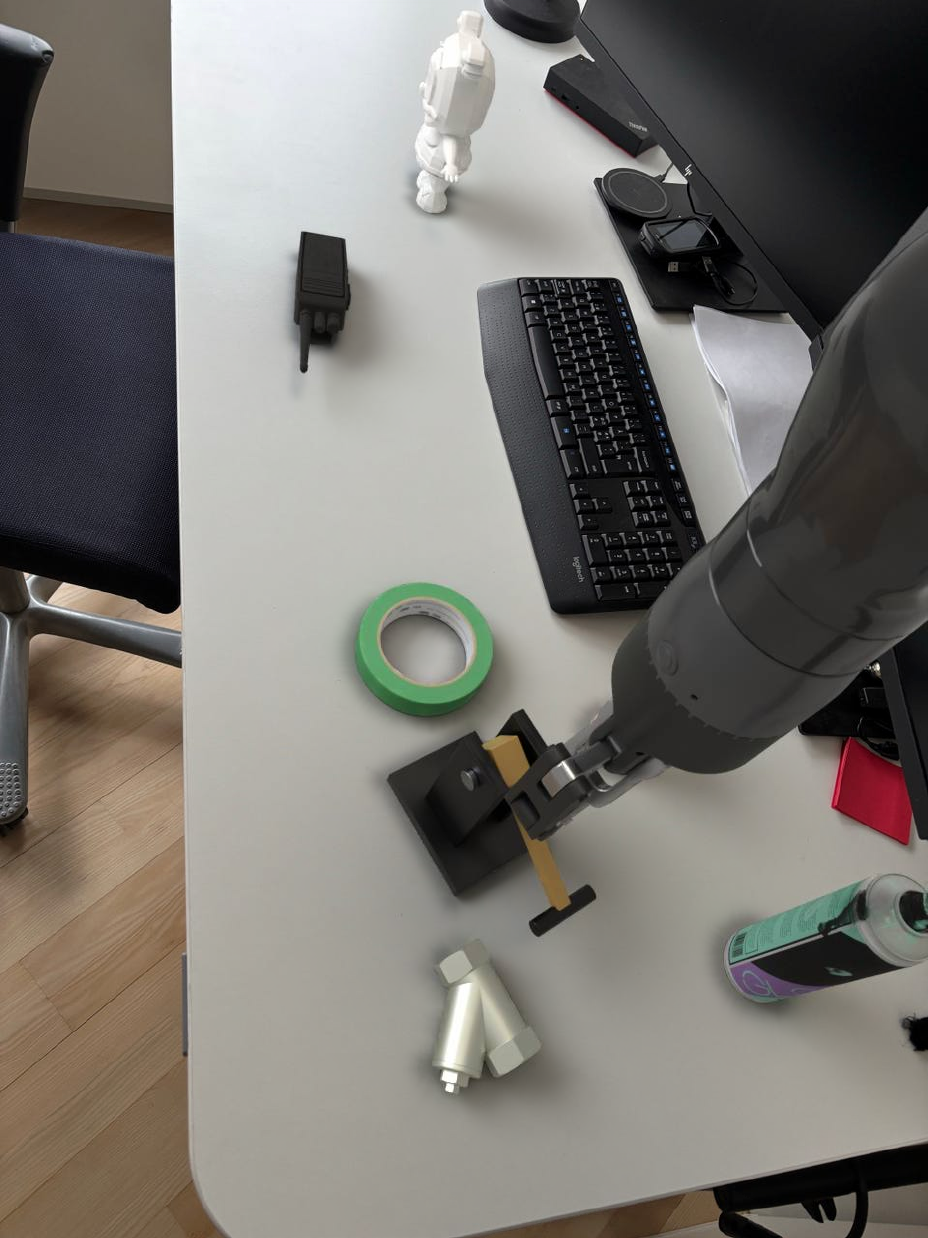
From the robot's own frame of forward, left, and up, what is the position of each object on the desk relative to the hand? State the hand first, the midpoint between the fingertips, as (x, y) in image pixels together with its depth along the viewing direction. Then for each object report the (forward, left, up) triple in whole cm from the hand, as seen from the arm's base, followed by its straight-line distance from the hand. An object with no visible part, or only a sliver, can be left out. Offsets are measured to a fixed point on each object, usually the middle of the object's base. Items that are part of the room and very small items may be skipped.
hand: (593, 786), depth 50 cm
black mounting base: (+5, -1, -21) cm, 22 cm away
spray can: (-16, -15, -21) cm, 30 cm away
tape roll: (+18, -5, -21) cm, 29 cm away
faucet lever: (+1, -1, -13) cm, 13 cm away
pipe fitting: (-7, +7, -21) cm, 24 cm away
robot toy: (+69, -37, -21) cm, 81 cm away
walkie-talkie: (+54, -15, -21) cm, 60 cm away
